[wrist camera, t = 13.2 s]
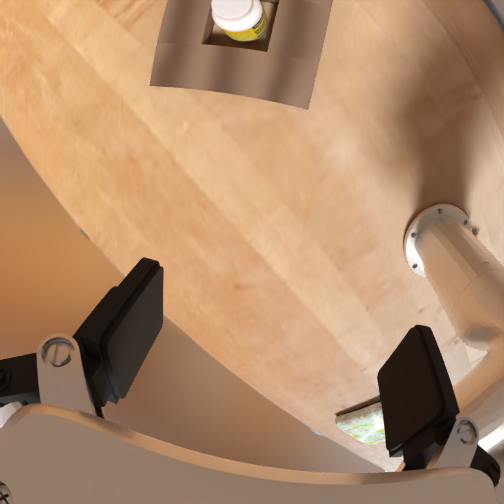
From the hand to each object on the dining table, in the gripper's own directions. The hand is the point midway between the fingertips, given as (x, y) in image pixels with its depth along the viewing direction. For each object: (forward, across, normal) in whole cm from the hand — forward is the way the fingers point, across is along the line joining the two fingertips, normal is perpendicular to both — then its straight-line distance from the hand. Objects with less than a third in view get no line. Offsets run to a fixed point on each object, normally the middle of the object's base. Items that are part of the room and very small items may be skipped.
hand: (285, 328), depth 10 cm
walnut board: (+30, +10, -17) cm, 36 cm away
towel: (+31, -42, +56) cm, 77 cm away
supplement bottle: (+30, +10, -17) cm, 36 cm away
